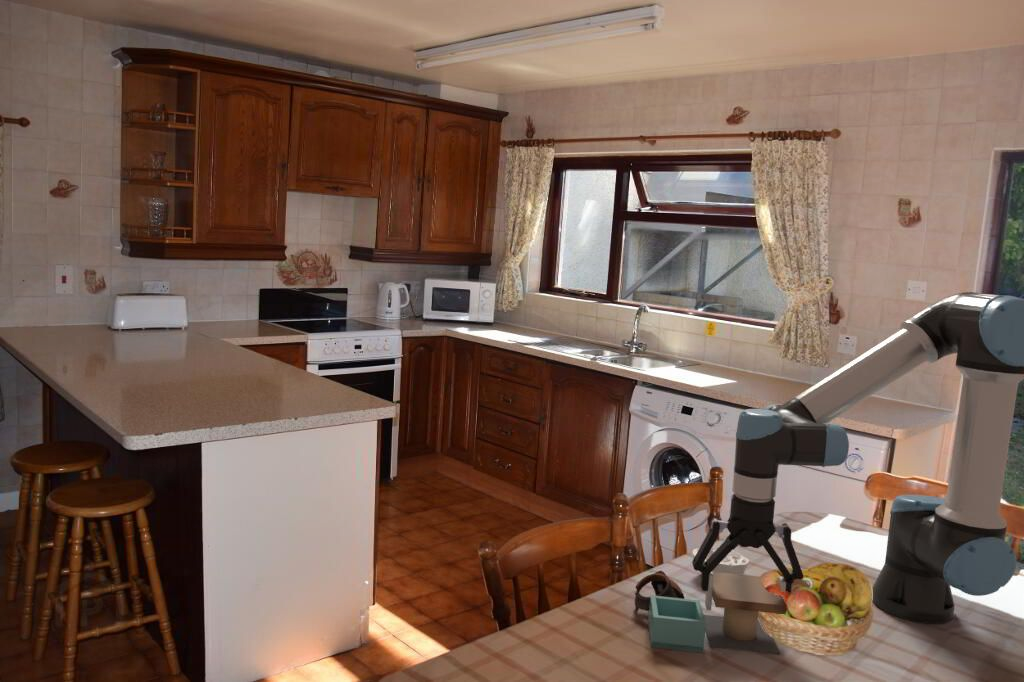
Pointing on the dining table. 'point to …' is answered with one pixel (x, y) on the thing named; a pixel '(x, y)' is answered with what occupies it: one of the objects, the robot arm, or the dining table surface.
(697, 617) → the teal open box
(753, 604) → the lid
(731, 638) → the mat stand
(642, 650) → the dining table surface
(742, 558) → the cell model
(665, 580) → the pottery mug
